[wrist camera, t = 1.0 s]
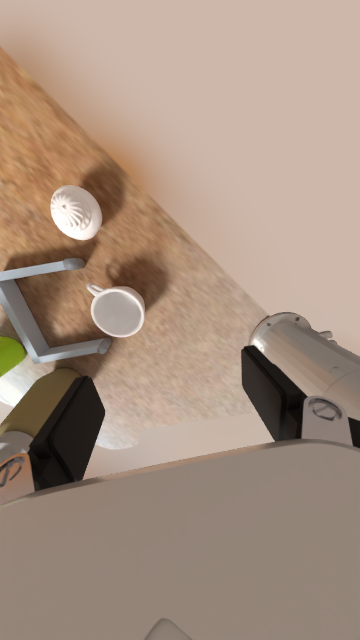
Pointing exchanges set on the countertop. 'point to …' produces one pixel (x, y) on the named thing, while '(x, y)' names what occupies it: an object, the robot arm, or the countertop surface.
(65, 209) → the muffin
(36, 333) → the bay
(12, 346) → the soap dispenser
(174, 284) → the countertop surface
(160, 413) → the countertop surface
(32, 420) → the squeeze bottle
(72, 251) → the countertop surface
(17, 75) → the countertop surface
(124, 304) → the teacup
